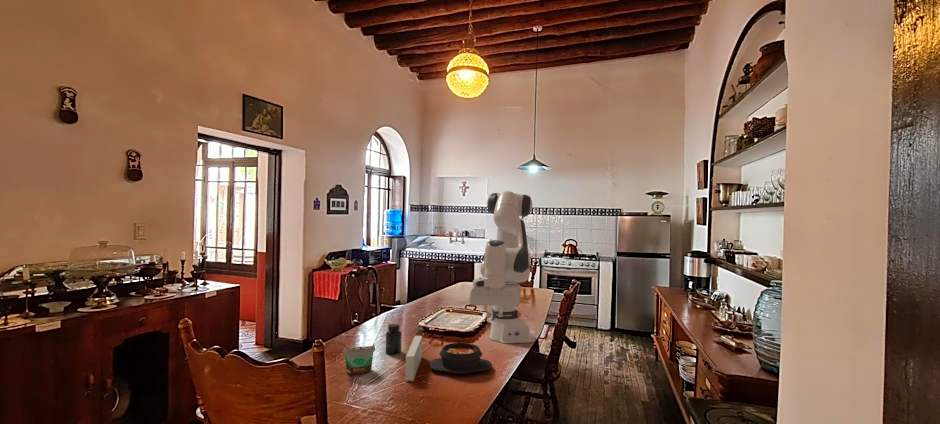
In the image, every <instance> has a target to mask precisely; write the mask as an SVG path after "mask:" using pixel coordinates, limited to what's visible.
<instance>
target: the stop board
mask: <svg viewBox="0 0 940 424" xmlns="http://www.w3.org/2000/svg"><path fill="white" fill-rule="evenodd" d="M422 353H423V335H414V338H412V342H411V344H410V346H409V349H408V351H407V352H406V355H405V374H404V377H405V379H404V380H405V382H407V381H409V382H414V380H415V378H416V375H417V371H418V369H419V366H420V363H421V360H422V357H423V354H422Z"/></svg>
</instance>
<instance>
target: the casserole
mask: <svg viewBox="0 0 940 424" xmlns="http://www.w3.org/2000/svg"><path fill="white" fill-rule="evenodd" d="M439 356H440V357H439V358H434V359H433V360H431V361H430V362H429V364H428V365H429V367H430V369H432V370H435V371H440V372H441V371H442V372H447V373H451V374H454V375H455V374H456V375H465V374H466V375H467V374H471V373H477V372H483V371H489V370H490V369H492V367H493V364H492V361H490V360H489V359H484V358H481V357H482V356H483V352H482V351H481V348H480V347H479V346H478V345H476V344H473V343H467V342H452V343H448V344H445V345H443V346H442V348H441V350H440V352H439Z"/></svg>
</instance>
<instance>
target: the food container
mask: <svg viewBox="0 0 940 424" xmlns="http://www.w3.org/2000/svg"><path fill="white" fill-rule="evenodd" d="M374 352H376V347H375V344H374V343H373V344H372V345H370V346H369V345H368V346H356V347H352V348H346V347H345V346H344V348H343V350H342V353H343V354H344V359H345V360H344V361H345V370H346V374H347V375H349V376H353V377H357V376H359V377H360V376H365V375H369V374H370V373H371V372H372V367H373V360H374V359H373V357H374Z"/></svg>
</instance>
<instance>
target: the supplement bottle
mask: <svg viewBox="0 0 940 424" xmlns="http://www.w3.org/2000/svg"><path fill="white" fill-rule="evenodd" d="M400 329H401V328H400V324H399V323H390V324H388V327H387V331H386V333H385V353H386V354H387V355H391V356H395V355H397V356H398V355H400V354H401V353H402V345H403V344H402V339H403V338H402V331H401V330H400Z"/></svg>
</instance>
